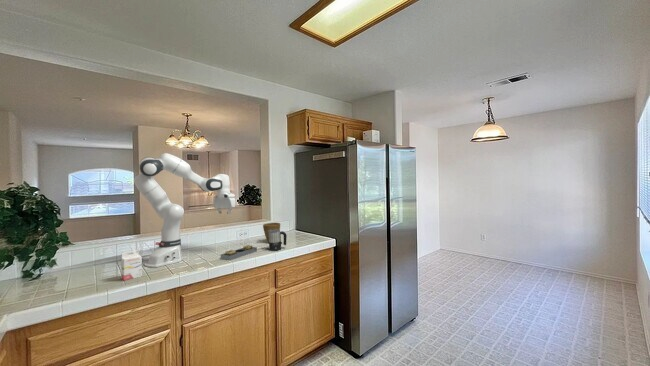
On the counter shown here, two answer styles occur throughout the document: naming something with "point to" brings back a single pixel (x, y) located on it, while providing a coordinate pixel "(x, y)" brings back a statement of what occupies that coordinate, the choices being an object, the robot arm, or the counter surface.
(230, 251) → the nut
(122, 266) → the ink cartridge box
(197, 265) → the counter surface
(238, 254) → the grey compartment tray
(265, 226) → the plant pot
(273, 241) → the milk frother
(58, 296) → the counter surface
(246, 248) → the cage nut
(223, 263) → the counter surface
